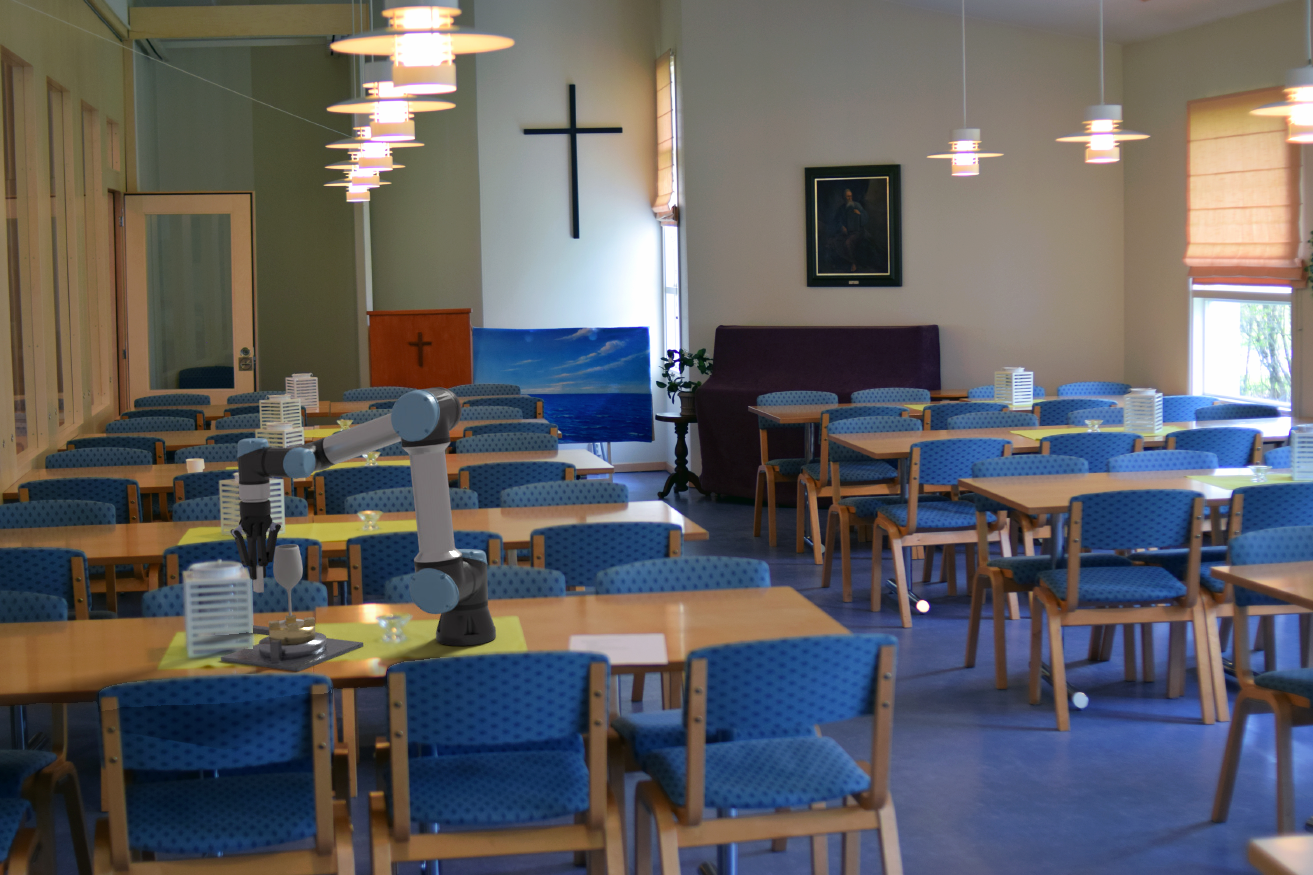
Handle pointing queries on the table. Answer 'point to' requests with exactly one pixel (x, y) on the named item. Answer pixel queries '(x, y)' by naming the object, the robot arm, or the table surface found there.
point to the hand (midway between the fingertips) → (258, 591)
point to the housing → (292, 653)
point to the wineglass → (288, 569)
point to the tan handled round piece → (289, 630)
